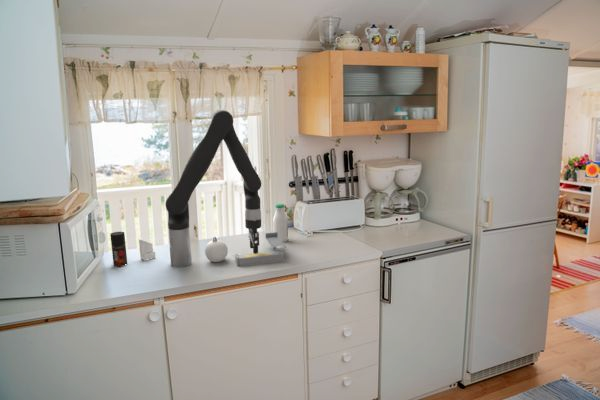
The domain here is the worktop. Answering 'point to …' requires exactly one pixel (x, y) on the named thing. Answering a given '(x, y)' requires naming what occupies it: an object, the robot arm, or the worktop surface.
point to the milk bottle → (280, 223)
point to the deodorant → (118, 248)
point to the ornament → (216, 250)
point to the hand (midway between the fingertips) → (254, 250)
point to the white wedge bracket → (146, 250)
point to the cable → (257, 255)
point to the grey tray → (259, 258)
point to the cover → (275, 241)
